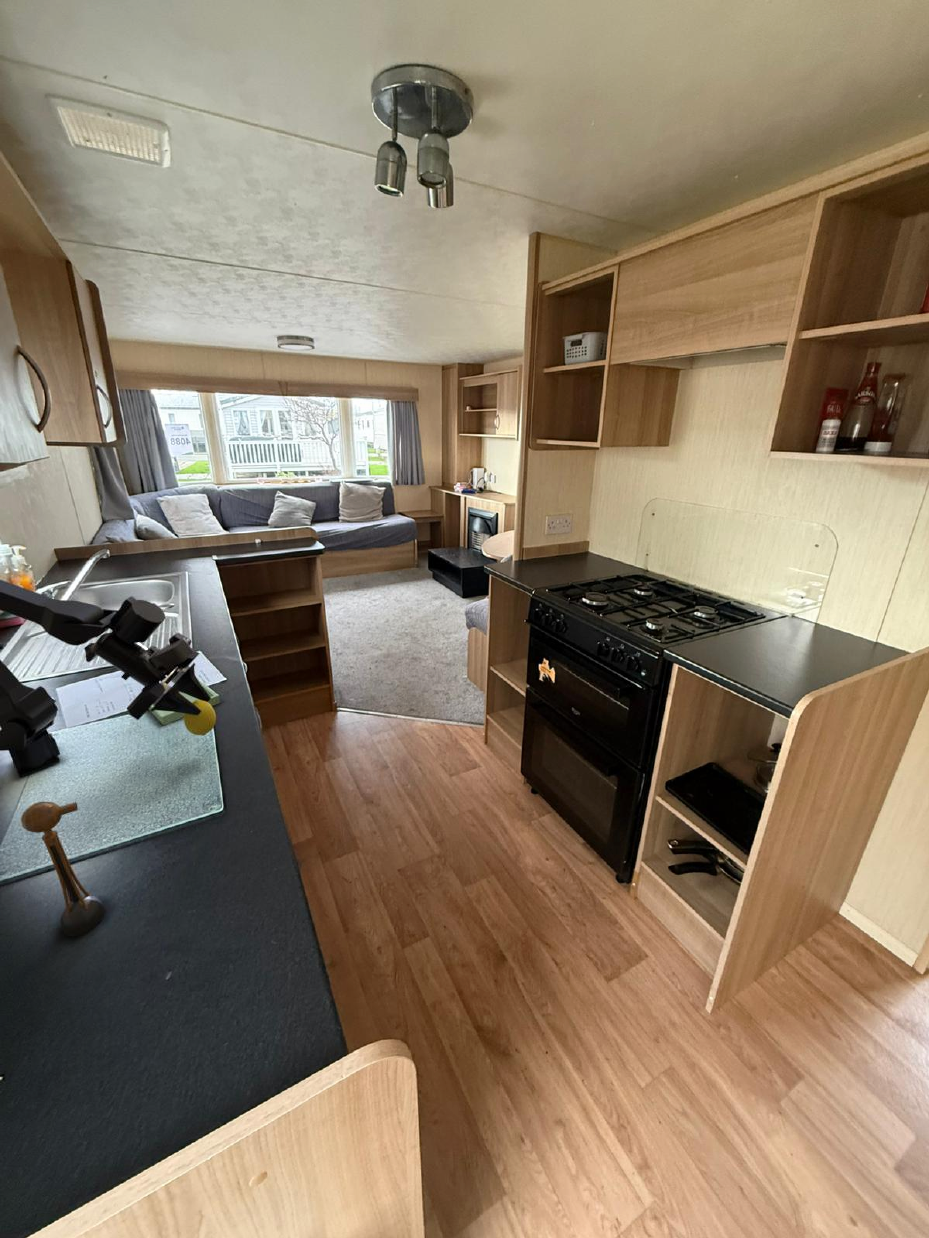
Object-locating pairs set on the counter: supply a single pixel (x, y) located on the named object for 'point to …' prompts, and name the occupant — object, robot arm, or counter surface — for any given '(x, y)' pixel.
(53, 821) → the wooden tabletop sculpture
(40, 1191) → the counter surface
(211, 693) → the tray
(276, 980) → the counter surface
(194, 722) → the lemon
